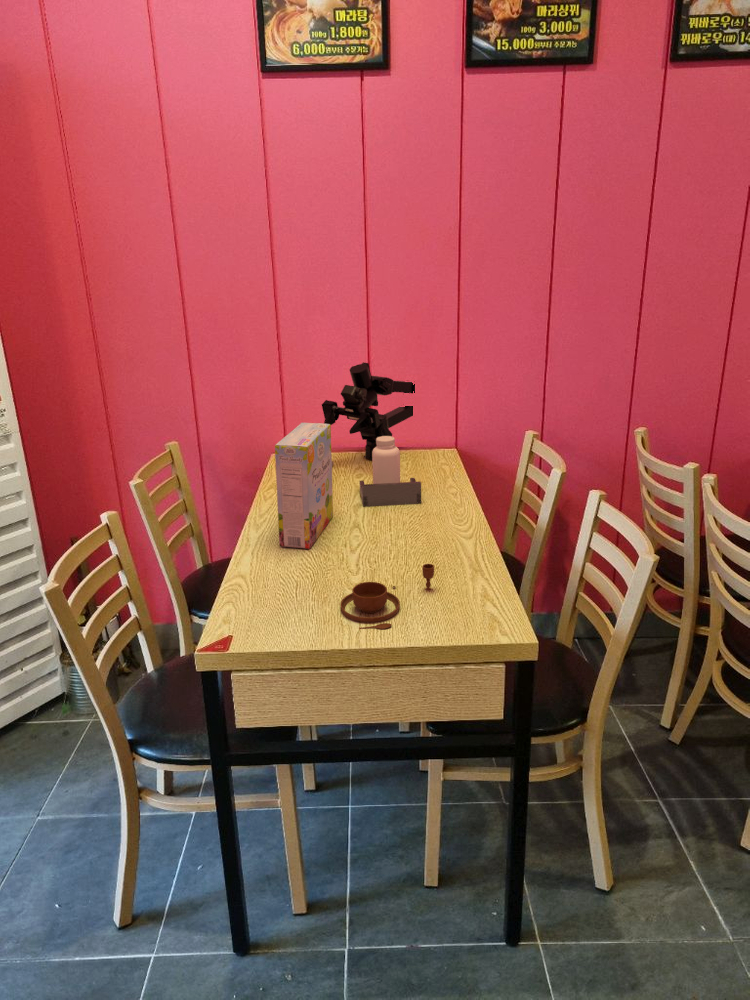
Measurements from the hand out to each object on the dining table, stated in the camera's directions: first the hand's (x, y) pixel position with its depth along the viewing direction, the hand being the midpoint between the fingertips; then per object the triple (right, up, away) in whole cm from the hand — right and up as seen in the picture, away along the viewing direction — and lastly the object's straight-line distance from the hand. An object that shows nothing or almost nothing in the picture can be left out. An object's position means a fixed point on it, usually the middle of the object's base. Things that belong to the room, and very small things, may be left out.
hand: (336, 429), depth 221 cm
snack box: (-5, -29, -33) cm, 44 cm away
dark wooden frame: (+15, -20, -11) cm, 28 cm away
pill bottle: (+15, -17, -4) cm, 23 cm away
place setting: (+14, -43, -70) cm, 84 cm away
